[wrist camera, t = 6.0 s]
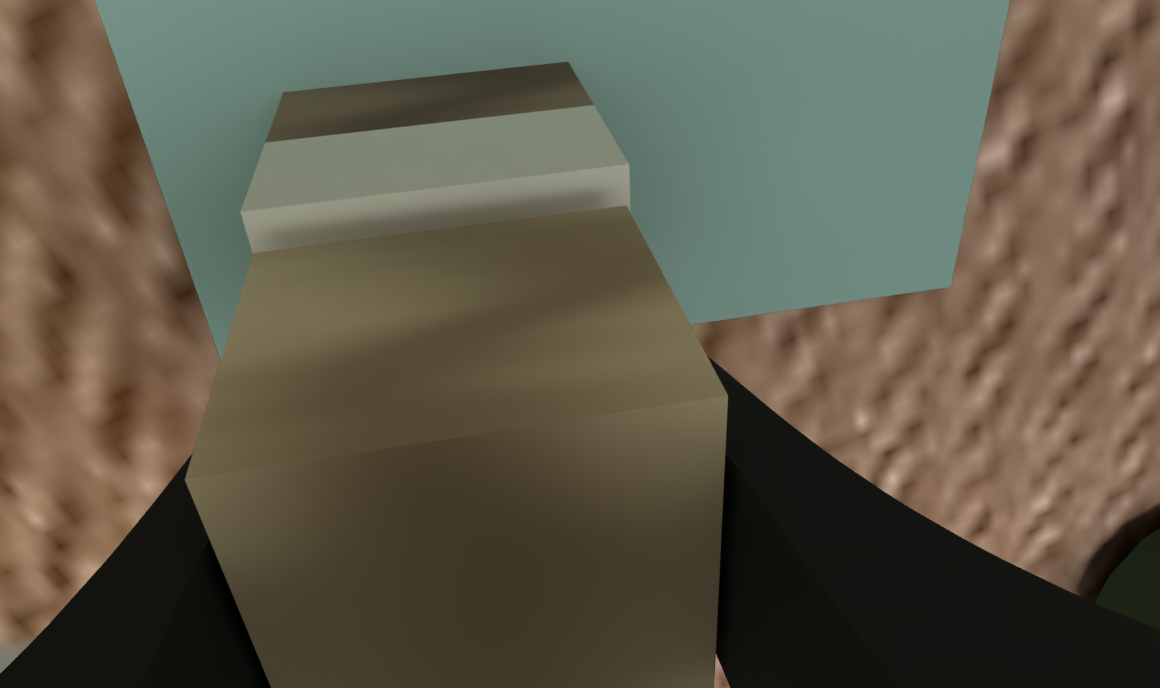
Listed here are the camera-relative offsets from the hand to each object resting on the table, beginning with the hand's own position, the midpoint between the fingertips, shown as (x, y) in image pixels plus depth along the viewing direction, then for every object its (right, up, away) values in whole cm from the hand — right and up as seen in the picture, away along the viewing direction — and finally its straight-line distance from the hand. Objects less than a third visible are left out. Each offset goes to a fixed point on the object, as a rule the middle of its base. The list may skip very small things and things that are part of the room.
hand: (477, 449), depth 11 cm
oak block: (0, +1, +1) cm, 1 cm away
